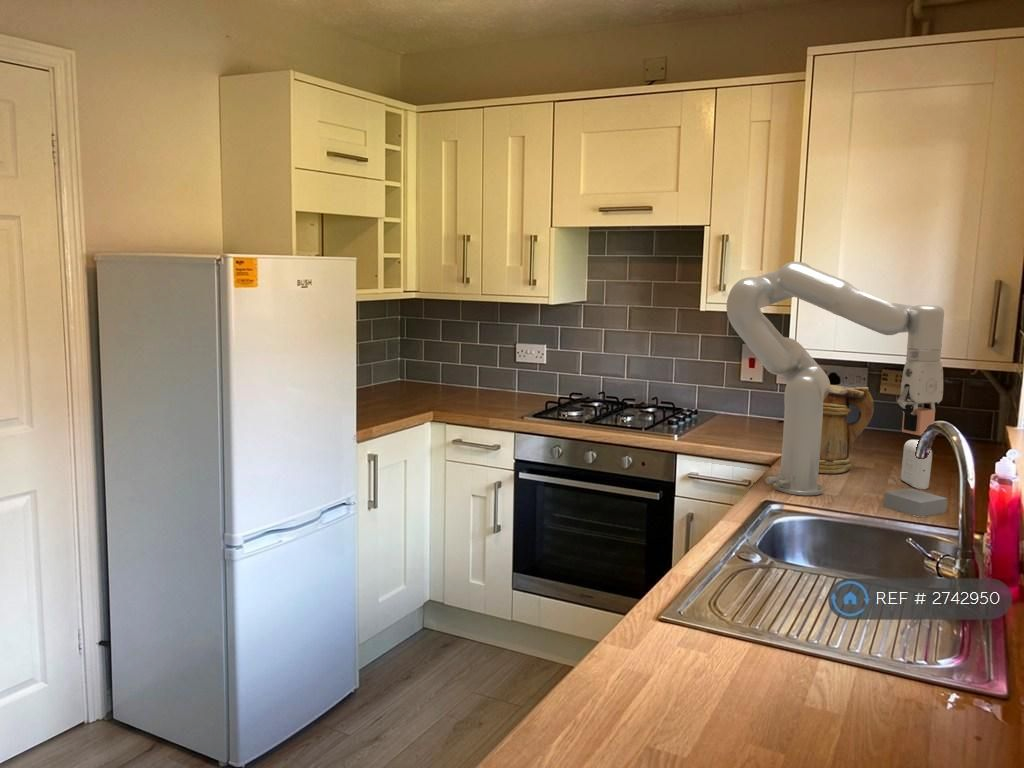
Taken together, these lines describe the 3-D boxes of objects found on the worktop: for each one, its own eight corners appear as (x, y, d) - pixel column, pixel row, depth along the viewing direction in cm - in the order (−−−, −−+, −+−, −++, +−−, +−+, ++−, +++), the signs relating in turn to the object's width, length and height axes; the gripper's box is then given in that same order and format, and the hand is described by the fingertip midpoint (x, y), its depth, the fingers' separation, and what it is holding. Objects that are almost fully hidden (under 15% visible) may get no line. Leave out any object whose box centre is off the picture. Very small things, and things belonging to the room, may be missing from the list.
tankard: (782, 457, 262) (788, 378, 258) (864, 465, 255) (871, 383, 252) (784, 471, 245) (790, 385, 241) (871, 479, 238) (879, 391, 235)
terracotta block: (919, 435, 205) (921, 411, 204) (901, 431, 210) (903, 407, 209) (933, 433, 207) (935, 409, 207) (915, 430, 212) (917, 406, 211)
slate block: (919, 519, 202) (920, 502, 201) (883, 507, 211) (884, 492, 210) (945, 514, 207) (947, 498, 206) (909, 503, 215) (911, 488, 215)
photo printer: (931, 489, 228) (935, 445, 227) (915, 489, 228) (919, 444, 227) (913, 480, 238) (917, 437, 237) (898, 479, 238) (902, 436, 237)
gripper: (912, 358, 199) (906, 434, 201) (960, 356, 206) (954, 429, 209) (886, 355, 206) (880, 429, 208) (933, 353, 213) (927, 424, 216)
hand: (917, 428), depth 208 cm, fingers closed on terracotta block, 5 cm apart
